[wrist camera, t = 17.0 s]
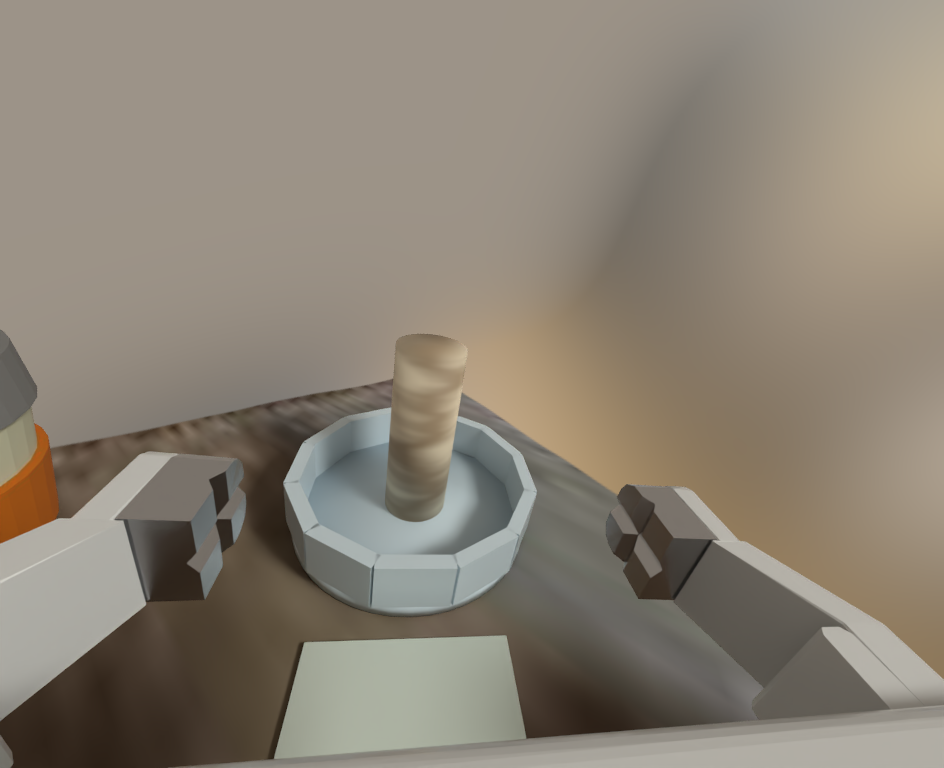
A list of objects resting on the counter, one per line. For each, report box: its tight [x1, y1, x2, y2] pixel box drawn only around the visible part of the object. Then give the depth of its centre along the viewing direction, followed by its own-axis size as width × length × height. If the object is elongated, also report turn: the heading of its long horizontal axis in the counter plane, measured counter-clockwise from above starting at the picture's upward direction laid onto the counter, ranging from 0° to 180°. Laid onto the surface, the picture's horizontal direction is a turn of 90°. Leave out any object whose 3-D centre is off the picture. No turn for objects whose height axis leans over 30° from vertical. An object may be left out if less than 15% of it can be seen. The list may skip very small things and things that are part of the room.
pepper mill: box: [385, 334, 468, 522], centre depth 29 cm, size 5×5×14 cm
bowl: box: [283, 408, 537, 617], centre depth 32 cm, size 19×19×4 cm
